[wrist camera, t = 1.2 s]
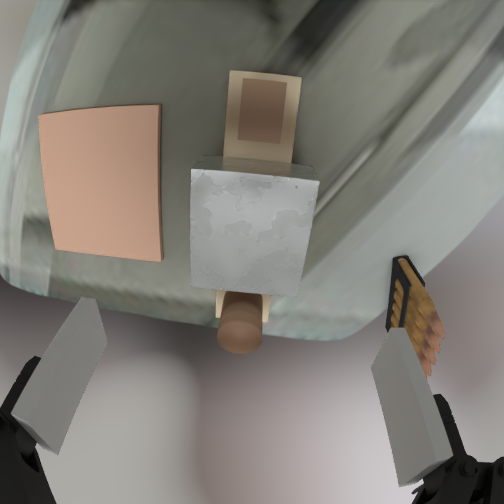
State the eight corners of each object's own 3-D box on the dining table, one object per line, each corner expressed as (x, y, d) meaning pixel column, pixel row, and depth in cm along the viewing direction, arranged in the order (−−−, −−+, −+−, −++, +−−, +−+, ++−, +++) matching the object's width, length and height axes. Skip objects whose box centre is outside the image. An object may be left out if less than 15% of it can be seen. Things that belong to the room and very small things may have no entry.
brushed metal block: (203, 155, 22) (191, 168, 19) (311, 165, 22) (319, 181, 19) (200, 259, 27) (191, 286, 23) (293, 268, 27) (296, 297, 23)
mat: (42, 114, 24) (38, 115, 24) (161, 104, 25) (158, 105, 24) (59, 246, 32) (55, 249, 32) (163, 258, 33) (161, 262, 32)
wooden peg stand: (236, 74, 23) (220, 65, 15) (295, 79, 23) (312, 74, 15) (221, 287, 34) (208, 355, 25) (267, 291, 34) (266, 361, 26)
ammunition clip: (392, 256, 31) (436, 333, 21) (407, 254, 31) (455, 328, 21) (385, 327, 37) (412, 402, 26) (398, 325, 36) (427, 398, 26)
